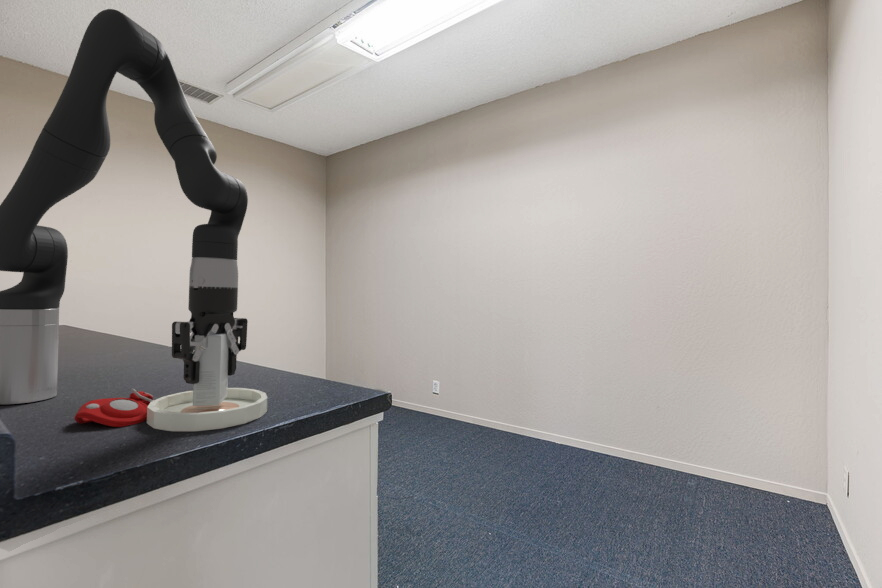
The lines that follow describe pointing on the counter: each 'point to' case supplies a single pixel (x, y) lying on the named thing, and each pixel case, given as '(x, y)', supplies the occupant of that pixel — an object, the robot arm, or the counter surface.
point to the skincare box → (212, 372)
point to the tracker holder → (116, 410)
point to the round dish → (206, 411)
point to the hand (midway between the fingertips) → (211, 378)
